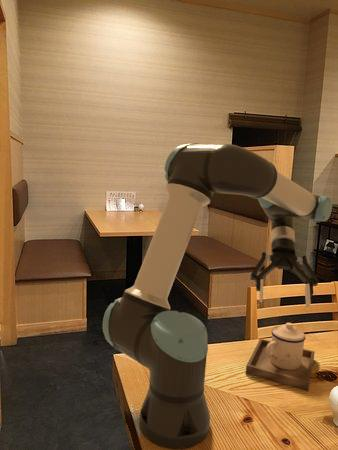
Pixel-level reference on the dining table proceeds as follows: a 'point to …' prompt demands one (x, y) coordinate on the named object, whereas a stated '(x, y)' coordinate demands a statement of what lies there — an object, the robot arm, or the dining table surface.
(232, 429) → the dining table surface
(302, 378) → the walnut tray
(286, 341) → the teacup with lid
